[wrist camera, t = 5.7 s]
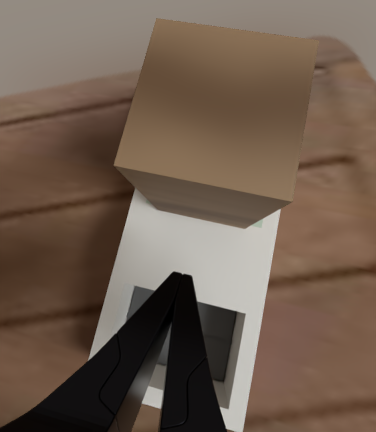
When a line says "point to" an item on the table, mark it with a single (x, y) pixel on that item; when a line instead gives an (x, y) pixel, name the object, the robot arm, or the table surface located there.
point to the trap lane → (205, 292)
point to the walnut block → (218, 121)
